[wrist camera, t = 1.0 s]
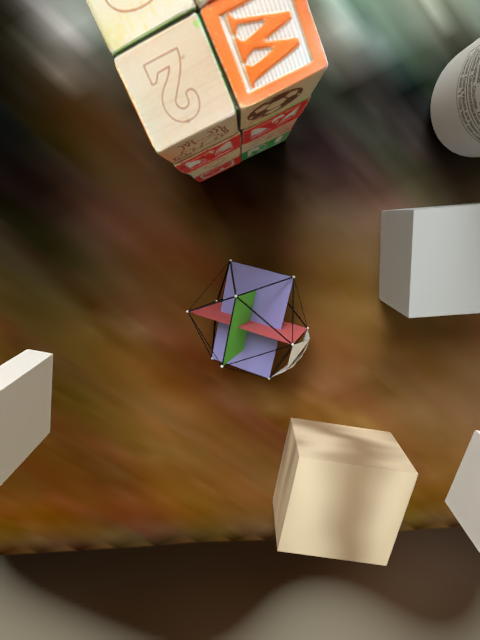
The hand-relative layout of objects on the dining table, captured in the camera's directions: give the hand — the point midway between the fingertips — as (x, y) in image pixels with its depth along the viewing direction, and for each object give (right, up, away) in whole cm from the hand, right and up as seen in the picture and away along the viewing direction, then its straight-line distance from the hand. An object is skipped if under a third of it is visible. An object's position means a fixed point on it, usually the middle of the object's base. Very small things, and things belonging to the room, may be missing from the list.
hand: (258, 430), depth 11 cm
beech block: (+7, -9, +19) cm, 21 cm away
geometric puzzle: (0, +4, +15) cm, 16 cm away
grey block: (+12, +8, +13) cm, 20 cm away
